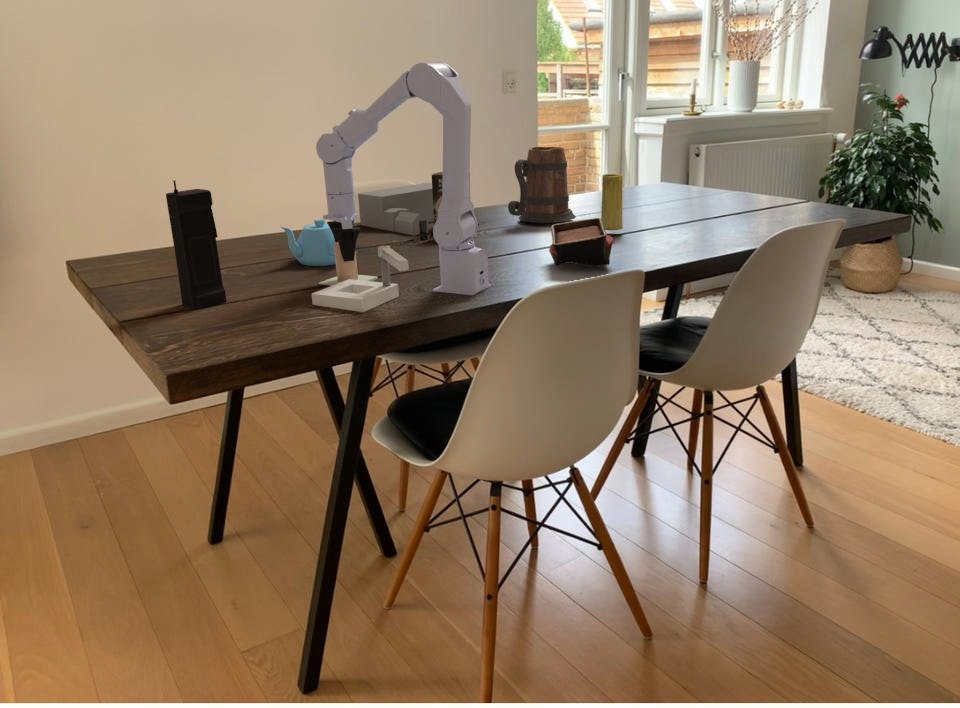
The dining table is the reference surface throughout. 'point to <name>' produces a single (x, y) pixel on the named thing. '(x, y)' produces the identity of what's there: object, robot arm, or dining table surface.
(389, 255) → the grey long bar
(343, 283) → the socket block
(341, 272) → the plug
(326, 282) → the mat
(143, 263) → the dining table surface
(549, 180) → the tankard
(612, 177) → the vase
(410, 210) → the grey stepped box
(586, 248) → the rectangular planter pot
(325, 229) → the teapot
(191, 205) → the portable radio
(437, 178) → the coffee box
